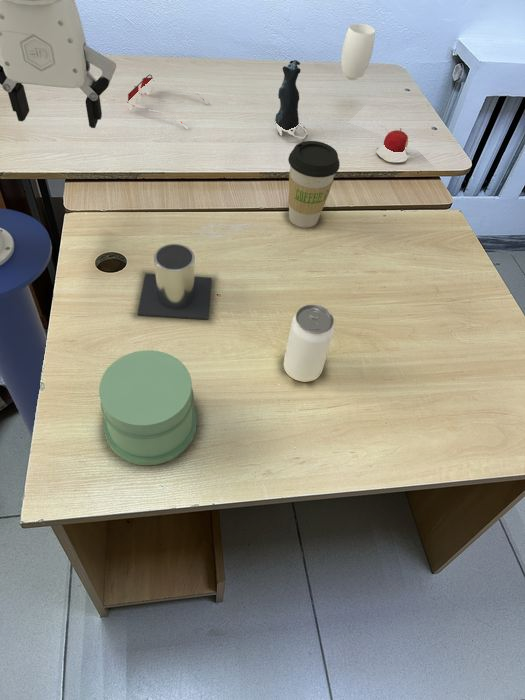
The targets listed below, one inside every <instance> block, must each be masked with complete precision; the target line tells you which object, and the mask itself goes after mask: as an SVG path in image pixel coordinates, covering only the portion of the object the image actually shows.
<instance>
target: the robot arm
mask: <svg viewBox="0 0 525 700" xmlns="http://www.w3.org/2000/svg"><path fill="white" fill-rule="evenodd" d="M84 31H85V30H84V28H83V23H82V20H81V16H80V13H79V10H78V6H77V4H76V1H75V0H0V62H1V64H0V85H1V87H2V90H3V91H5V92H6V93H7V95H8V98H9V103H10V106H11V109H12V112H15V114H16V118H17V121H18V122H24V121H26V118H27V117H28V115H29V113H30V105H29V102H28V98H27V93H26V90H25V86H24V85H33V86H43V87H52V88H64V89H80V90H81V91H82V93H83V94H85V95H86V99H85V109H86V115H87V119H88V127H89V128H91V129H96V126H97V124H98V121H100V120H102V117H103V111H102V105H101V104H102V103H101V98H100V96H101V95H102V94H103V93H104V92H105V91H106V90H107V89H108V88H109V85H110V83H111V80H112V79H113V77H114V74H115V71H116V69H117V64H116V62H115V61H114V60H112V59H110V58H109V57H107V56H105V55H103V54H101V53H100V52H99V51H96V50H95V49H93V48H91V47H90V46H88V45H87V40H86V35H85V32H84ZM91 65H92V66H94V67H95V68H98V69H100V71H101V72H102V74H101V76H99V77H98V79H96V78H95V76H93V74H92V73H91V72H90V70H91ZM14 247H15V246H14V241H13V238H12V236H11V235H10V234H9V233H8V232H7V231H6V230H4V229H2V228H0V265H2V264H4V263H5V262H6V261H7V260H8V259H9V258H10V257H11V256H12V254H13V252H14Z"/></svg>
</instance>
